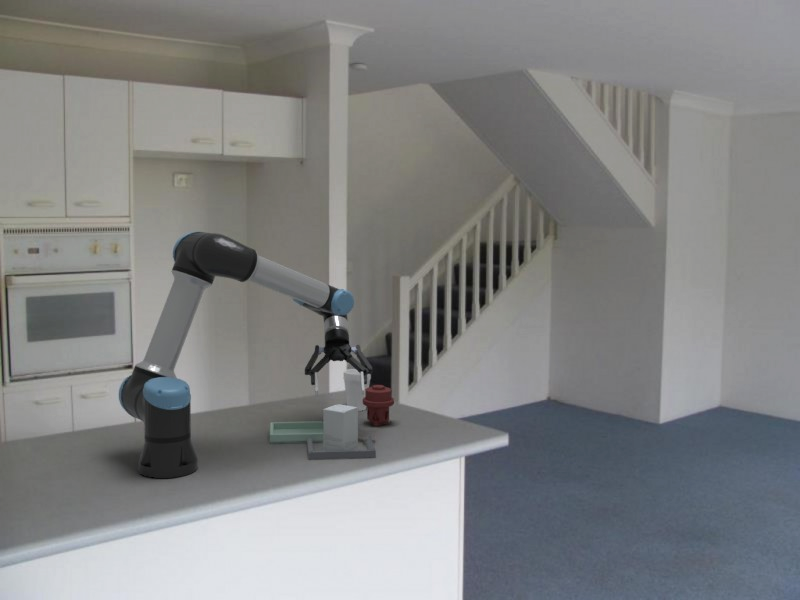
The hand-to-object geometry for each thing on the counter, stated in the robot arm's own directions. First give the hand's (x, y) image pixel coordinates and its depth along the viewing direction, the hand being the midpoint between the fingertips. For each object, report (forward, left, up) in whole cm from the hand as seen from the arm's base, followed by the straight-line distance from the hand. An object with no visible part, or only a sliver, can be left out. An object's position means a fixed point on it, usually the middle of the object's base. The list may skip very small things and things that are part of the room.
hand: (339, 393), depth 243 cm
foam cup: (+9, +38, -15) cm, 42 cm away
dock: (0, -10, -15) cm, 17 cm away
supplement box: (0, -10, -15) cm, 18 cm away
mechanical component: (+14, +18, -15) cm, 27 cm away
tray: (-10, +6, -15) cm, 19 cm away
